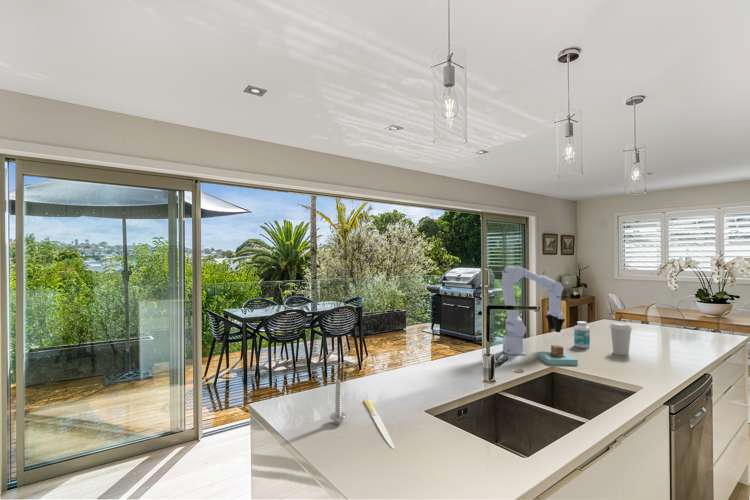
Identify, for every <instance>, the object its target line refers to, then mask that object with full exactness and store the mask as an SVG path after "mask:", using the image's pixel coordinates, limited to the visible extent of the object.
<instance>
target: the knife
mask: <svg viewBox="0 0 750 500" xmlns="http://www.w3.org/2000/svg"><path fill="white" fill-rule="evenodd" d="M363 402H364V404H365V406H366V407H367V410H368V411H369V413H370V415H371V417H372V419H373V421H374V423H375V425H376V426H377V429H378V430H379V431H380V434H381V436H383V439H384V440H385V442H386V443H387V444H388V445H389V447H390V448H391V449H392V450H394V449H395V445H394V443H393V440H392V438H391V436H390V433H389V432H388V430H387V427H385V426H386V425H385V424H384V422H383V420H382V418H381V416H380V414H378V412H377V409H376V408H375V407H374V405H373V403H375V402H373V401H372V400H370V399H368V398H364V399H363Z"/></svg>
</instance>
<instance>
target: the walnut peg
mask: <svg viewBox="0 0 750 500" xmlns="http://www.w3.org/2000/svg"><path fill="white" fill-rule="evenodd" d="M550 352H551V356H552V357H563V352H564V347H563V346H562V345H559V344H550Z"/></svg>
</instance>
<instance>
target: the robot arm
mask: <svg viewBox="0 0 750 500" xmlns="http://www.w3.org/2000/svg"><path fill="white" fill-rule="evenodd" d="M501 274H502V276H501V280H500V281H501V282H500V287H501V292H502V295H503V300H504V306H505V305H511V306H517V307H518V304H517V300H516V294H515V289H514V285H515V284H516V283H518V281H520V280H521V279H522V278H526V279H529V280H531V281H533V282H535V283H536V285H537V286H538V287H541V288H543V289H545V290H546V291H547V292H548V310H547V311H546V312H547V313H546V314H547V315H545V318H546V320H547V323H548V328H549V330H554V331H555V333H561V332H562V331H561V330H562V327H563V324H564V323H565V321H566V319H565V318H564V312H562V294H563V291H564V289H565V287H564V286H563V284H562V283H561V282H560V281H556V280H555V279H553V278H549V277H548V275H546V274H543V275H542V274H541V275H538V274H536V273H534V272H533V271H530V270H529V269H527V268H525V267H522V266H513V265H507V266H505V267H504V269H502V271H501ZM506 314H507V315H506V316H507V318H506V319H505V327H504V329H505V330H506V331H507V334H506V335H505V334H504V335H503V336H502V352H504V353H505V354H506V353H507V354H506V355H518V356H519V355H520V356H521V355H522V356H523V355H527V353H526V352H524V335H525V334H526V333H527V327H526V325H525V324H524V321H523V320H522V318H521V317H520V315H519V311H518V310H506Z"/></svg>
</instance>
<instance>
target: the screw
mask: <svg viewBox="0 0 750 500" xmlns="http://www.w3.org/2000/svg"><path fill="white" fill-rule="evenodd" d="M334 391H335V392H334V393H335V394H334V395H335V396H334V401H335V402H334V409H335V410H334V412H333V413H331V414H330V415H329V419H330V420H332V421H333V424H334V425H337V426H339V425H341V424H343V423H344V422H343V420H345V419H346V418H347V415H346V414H345V412H343V411H342V388H341V380H340V379H336V380H335V390H334Z"/></svg>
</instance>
